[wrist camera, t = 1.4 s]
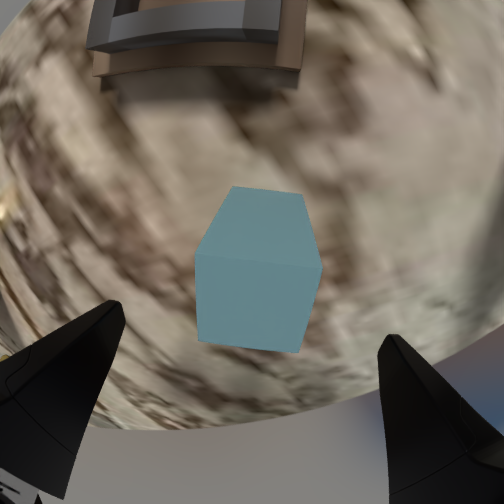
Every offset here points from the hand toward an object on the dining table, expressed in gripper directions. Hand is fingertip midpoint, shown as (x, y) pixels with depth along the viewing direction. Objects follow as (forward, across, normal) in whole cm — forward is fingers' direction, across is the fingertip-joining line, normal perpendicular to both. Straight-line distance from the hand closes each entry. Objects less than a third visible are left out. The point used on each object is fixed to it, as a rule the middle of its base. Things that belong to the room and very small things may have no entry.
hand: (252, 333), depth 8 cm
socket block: (+9, +5, -15) cm, 18 cm away
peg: (+9, 0, 0) cm, 9 cm away
